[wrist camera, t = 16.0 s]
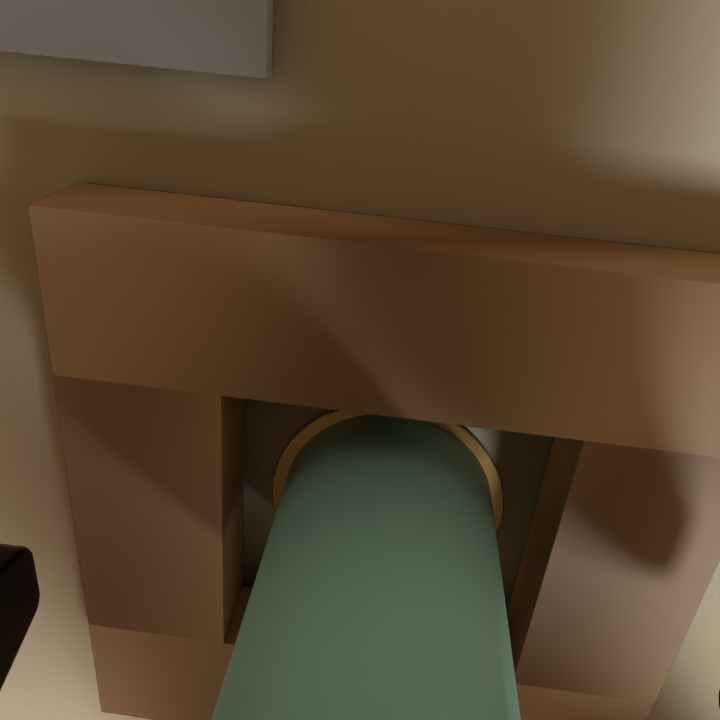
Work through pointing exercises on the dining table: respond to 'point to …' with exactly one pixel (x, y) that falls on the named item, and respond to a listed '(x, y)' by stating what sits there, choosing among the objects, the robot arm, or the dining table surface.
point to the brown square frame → (386, 398)
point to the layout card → (146, 33)
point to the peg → (377, 586)
